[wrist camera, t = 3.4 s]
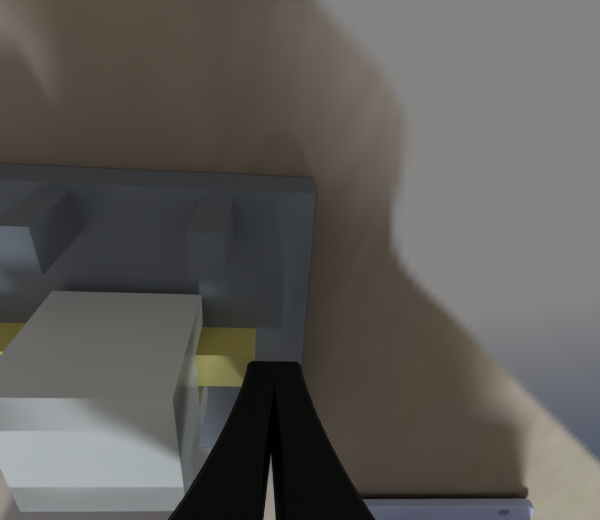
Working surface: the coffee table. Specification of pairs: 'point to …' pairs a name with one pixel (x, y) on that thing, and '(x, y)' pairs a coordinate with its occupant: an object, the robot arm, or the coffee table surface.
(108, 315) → the sleeve
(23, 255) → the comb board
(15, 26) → the coffee table surface
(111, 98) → the coffee table surface
